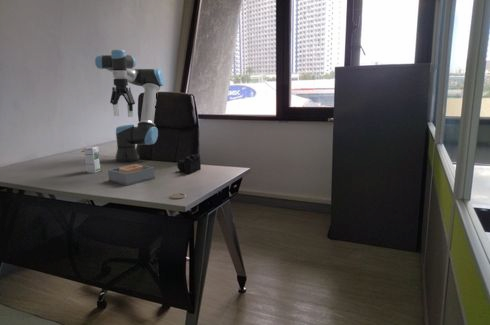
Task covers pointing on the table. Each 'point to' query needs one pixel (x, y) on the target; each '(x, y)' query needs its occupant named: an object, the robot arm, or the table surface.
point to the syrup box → (92, 159)
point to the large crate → (131, 175)
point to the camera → (190, 164)
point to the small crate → (130, 168)
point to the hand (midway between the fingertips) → (123, 116)
